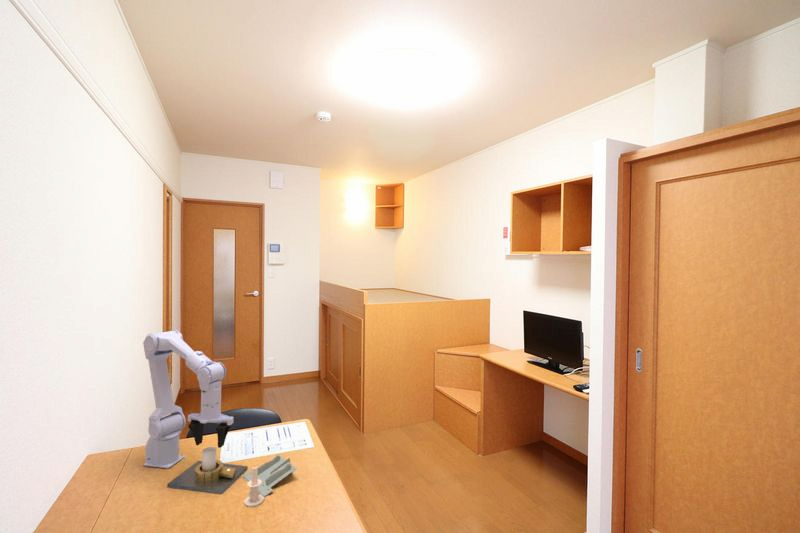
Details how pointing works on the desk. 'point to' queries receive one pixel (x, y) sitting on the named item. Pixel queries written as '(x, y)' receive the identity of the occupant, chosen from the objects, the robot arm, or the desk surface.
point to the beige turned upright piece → (254, 490)
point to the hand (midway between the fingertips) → (209, 445)
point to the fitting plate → (205, 486)
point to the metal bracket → (271, 474)
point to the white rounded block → (209, 459)
